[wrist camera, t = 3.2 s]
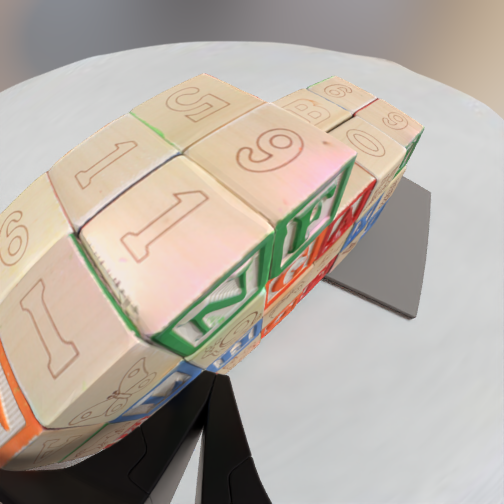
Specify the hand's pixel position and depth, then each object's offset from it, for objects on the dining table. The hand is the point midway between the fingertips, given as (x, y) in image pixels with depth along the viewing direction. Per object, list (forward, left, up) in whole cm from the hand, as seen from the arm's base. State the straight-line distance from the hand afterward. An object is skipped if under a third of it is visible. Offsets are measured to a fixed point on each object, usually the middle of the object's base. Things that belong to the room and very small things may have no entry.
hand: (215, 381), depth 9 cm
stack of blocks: (+5, +1, -7) cm, 9 cm away
